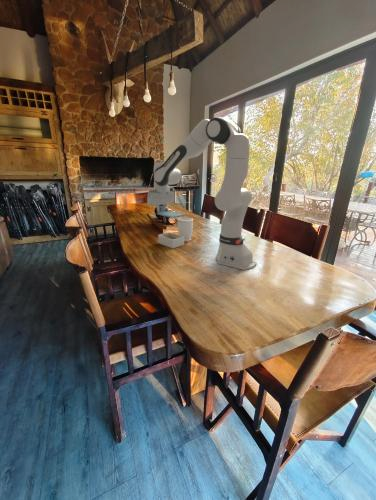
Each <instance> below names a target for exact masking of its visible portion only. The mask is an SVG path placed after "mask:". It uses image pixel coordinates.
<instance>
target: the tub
mask: <svg viewBox="0 0 376 500" xmlns="http://www.w3.org/2000/svg"><path fill="white" fill-rule="evenodd" d="M164 236H171V237H172V238H177V239H170V238H167V237H164ZM157 241H158V244H160V245H163V246H165V247H168V248H171V249H175V248H178V247H183V246H184V245H185V241H184V237H183V236H180V235H178V233H173V232H170V231H169V232H165V233H160V234H158V235H157Z"/></svg>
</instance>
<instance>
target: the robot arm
mask: <svg viewBox="0 0 376 500" xmlns="http://www.w3.org/2000/svg"><path fill="white" fill-rule="evenodd" d="M212 142H213V143H216V144H219V145H221V146H222V145H224V147H225V150H226V152H225V154H226V155H225V166H224V176H223V178H222V179H223V180H222V183H221V187H220V189H219V190H218V192H217V193H216V194H215V196H214V205H215V207H216V208H217V209H218V210H220V211H223V212H225V214H224V216H223V218H222V220H221V226H220V234H219V238H218V239H219V240H218V241H219V244H218V249H217V254H216V256H215V260H216V261H217V264H219V265H223V266H227V267H230V268H234V269H237V270H243V271H245V270H246V271H247V270H250V269H252V268H254V267H256V266H257V261H256V260H254V259H253V258H254V257H253V252H252V251H251V250H250V249H249V247H248V246H246V244H244V243H245V242H244V241H245V240H246V238H245V237H244V238H243V236H242V230H243V223H244V219H245V216H246V213H247V211H248V207H249V206H250V204H251V202H252V201H253V194H252V192H251V190H250V189H248V188H245V187H243V185H244V182H245V180H246V178H247V177H248V173H249V164H250V162H249V161H250V139H249V137H248V136H247V135H246V134H245V133H241V128H240V126H239V125H238V124H237V123H236V122H234V121H232V120H231V119H228V118H226V117H221V116H215V117H212V118H211V119H209V118H203V119H201V120H200V121H199V122H198V124H196V125H195V126H194V128H193V129H192V131H190V133H189V135H188V136H187V137H186V138H185V139H184V141H183V142H182V143H181V144H180V145H178V146H177V147H176V148H175V150H173V151H172V153H171V154H170V155H169V156H168V157H167V158H166V160H161V161H156V162H155V163H154V165H153V180H154V182H153V189H149V190H148V191H147V198H146V201H147V205H148V206H155V208H156V212H157V213H158V212H159V211H161V209H160V208H159V206H160V205H163V206H165V212H166V211H167V206H168V204H173V203H175V199H176V197H175V187H172V186H171V185H177V184H179V183H180V182H181V180H182V172H181V170H180V169H179V168H177V167H178V166H179V165H180V164H181V163H182V162H183V161H185V160H189V159H193V158H194V159H195V158H197V157H199V156H200V155H201V154H202V153H204V152H205V150H206V149H207V148H208V146H209V145H210V144H211V143H212Z"/></svg>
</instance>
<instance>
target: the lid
mask: <svg viewBox="0 0 376 500" xmlns="http://www.w3.org/2000/svg"><path fill="white" fill-rule="evenodd" d="M159 208H160V209H161V211H159V212H158V211H157V212H156V215H159V216H163V217H167V218H172V219H175V218H177V219H178V218H182V217H187V216H186V215H187V214H186V213H180V212H178V211H172V210H166V211H165V206H164V205H159Z"/></svg>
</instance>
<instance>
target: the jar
mask: <svg viewBox="0 0 376 500" xmlns="http://www.w3.org/2000/svg"><path fill="white" fill-rule="evenodd" d="M193 222H194V218H192V217H187V216H182V217H177V235H180V236H183V237H184V242H188V241H192V235H193V230H194V223H193Z"/></svg>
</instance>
